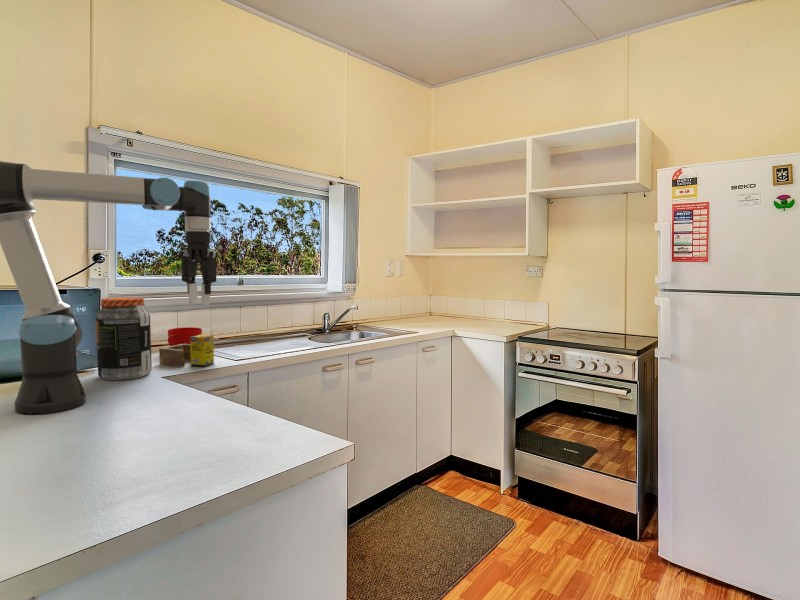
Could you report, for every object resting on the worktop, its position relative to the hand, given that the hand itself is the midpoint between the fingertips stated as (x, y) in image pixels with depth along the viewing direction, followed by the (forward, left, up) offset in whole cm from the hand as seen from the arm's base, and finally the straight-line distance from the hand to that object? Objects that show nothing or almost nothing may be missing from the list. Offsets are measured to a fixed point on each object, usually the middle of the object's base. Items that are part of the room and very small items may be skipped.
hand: (199, 304), depth 156 cm
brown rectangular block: (+17, +25, -25) cm, 39 cm away
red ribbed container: (+29, +38, -25) cm, 54 cm away
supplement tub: (-6, +26, -25) cm, 37 cm away
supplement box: (+17, +15, -25) cm, 34 cm away
